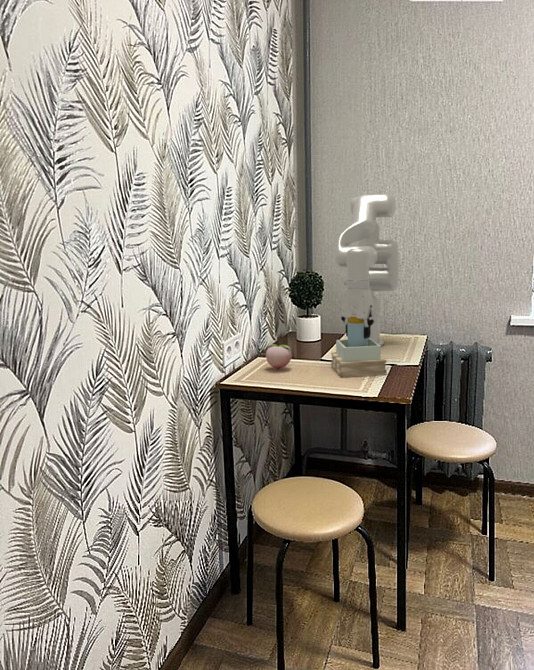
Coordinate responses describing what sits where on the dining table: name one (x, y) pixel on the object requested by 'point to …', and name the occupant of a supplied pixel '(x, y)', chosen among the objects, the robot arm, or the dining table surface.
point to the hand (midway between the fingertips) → (357, 336)
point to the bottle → (356, 330)
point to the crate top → (358, 351)
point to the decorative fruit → (278, 355)
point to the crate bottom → (358, 367)
